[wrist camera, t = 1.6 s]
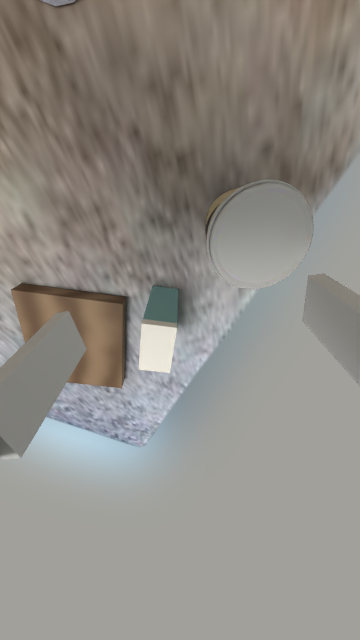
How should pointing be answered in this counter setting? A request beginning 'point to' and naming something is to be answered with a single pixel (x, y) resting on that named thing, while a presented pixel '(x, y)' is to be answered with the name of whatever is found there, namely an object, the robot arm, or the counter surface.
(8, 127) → the counter surface
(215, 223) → the white-capped cylinder
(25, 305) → the board
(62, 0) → the soap bottle
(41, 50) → the counter surface
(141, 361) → the block
